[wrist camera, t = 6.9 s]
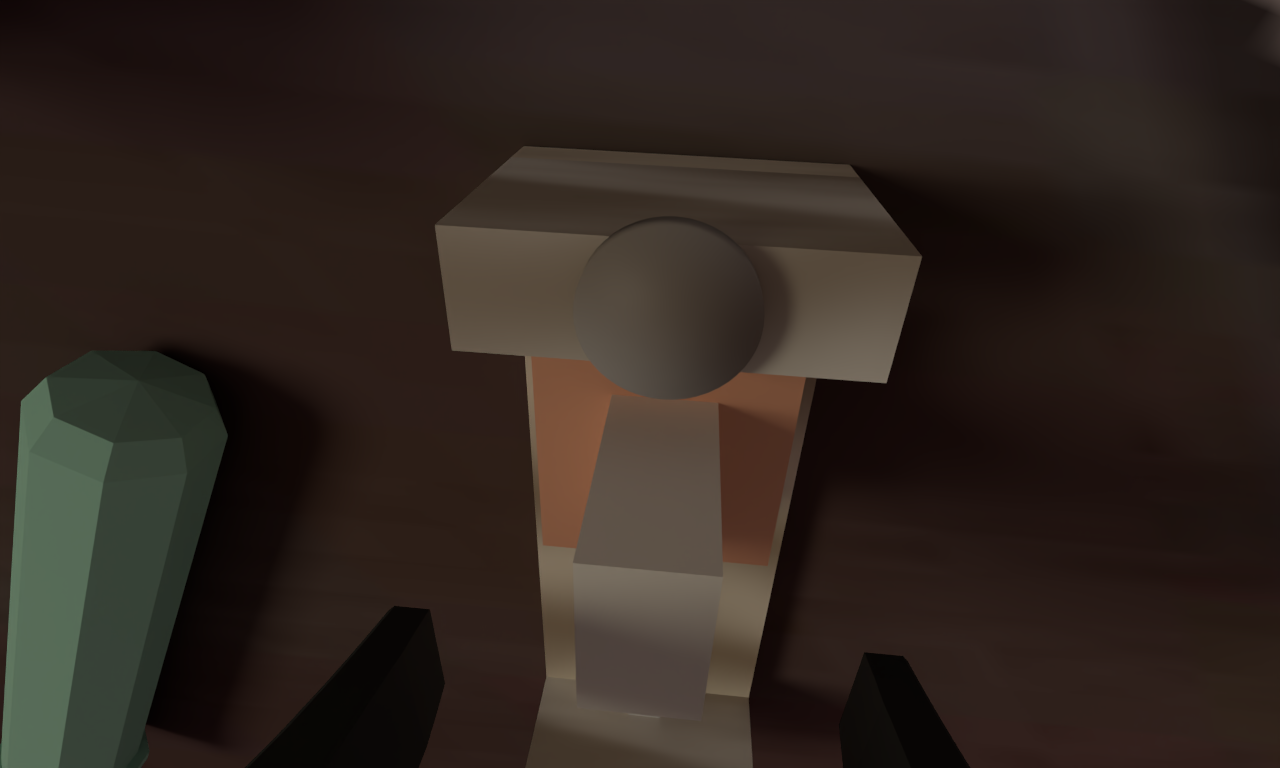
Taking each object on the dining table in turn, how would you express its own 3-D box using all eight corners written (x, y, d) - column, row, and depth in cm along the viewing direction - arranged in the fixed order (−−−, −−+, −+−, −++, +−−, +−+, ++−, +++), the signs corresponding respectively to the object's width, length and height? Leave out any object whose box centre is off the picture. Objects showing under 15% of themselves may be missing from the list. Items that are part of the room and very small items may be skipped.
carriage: (760, 494, 19) (788, 759, 13) (562, 477, 20) (489, 727, 13) (792, 313, 16) (851, 542, 10) (555, 297, 16) (455, 506, 10)
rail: (738, 709, 28) (747, 896, 22) (555, 690, 28) (516, 869, 22) (853, 147, 15) (938, 242, 10) (523, 129, 16) (420, 210, 10)
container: (-57, 433, 15) (-47, 843, 27) (236, 475, 18) (128, 826, 30) (46, 292, 19) (15, 701, 31) (269, 344, 22) (163, 699, 34)
